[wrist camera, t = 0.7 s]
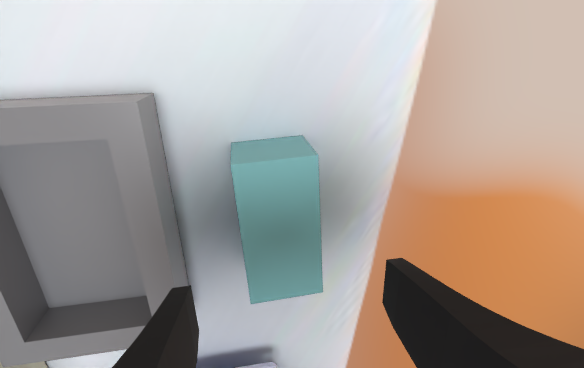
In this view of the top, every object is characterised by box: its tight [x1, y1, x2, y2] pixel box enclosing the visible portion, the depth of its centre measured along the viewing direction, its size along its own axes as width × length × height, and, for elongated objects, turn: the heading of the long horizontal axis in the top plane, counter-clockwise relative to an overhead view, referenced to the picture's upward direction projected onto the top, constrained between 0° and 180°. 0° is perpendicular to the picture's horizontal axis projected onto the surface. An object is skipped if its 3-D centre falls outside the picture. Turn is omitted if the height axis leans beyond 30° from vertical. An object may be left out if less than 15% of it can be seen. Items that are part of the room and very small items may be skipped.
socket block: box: [0, 93, 189, 367], centre depth 17 cm, size 14×10×3 cm
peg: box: [231, 135, 323, 304], centre depth 18 cm, size 8×4×4 cm, turn 4°
